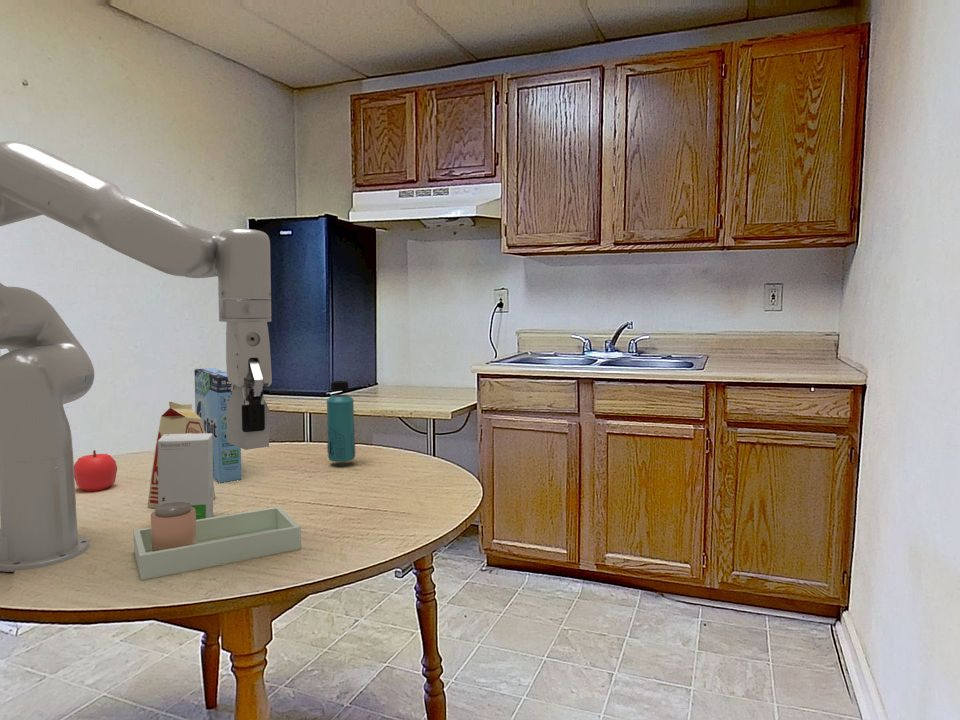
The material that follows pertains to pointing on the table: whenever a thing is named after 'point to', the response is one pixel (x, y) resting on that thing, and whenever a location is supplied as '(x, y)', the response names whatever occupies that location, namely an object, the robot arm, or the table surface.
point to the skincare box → (186, 471)
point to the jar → (173, 526)
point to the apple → (95, 471)
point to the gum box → (217, 421)
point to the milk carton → (173, 422)
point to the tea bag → (235, 424)
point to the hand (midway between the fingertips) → (247, 425)
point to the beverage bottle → (340, 424)
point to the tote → (220, 542)
